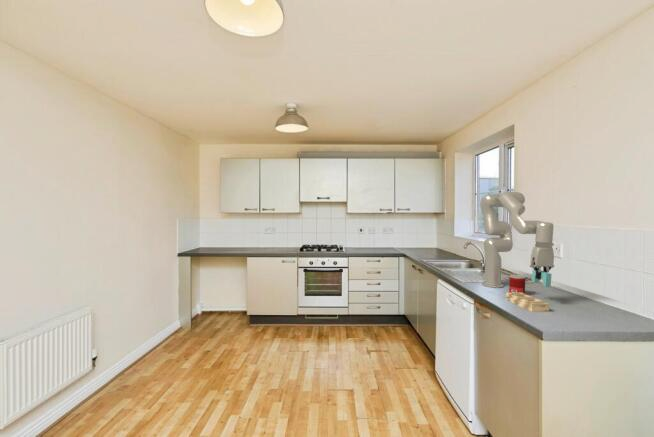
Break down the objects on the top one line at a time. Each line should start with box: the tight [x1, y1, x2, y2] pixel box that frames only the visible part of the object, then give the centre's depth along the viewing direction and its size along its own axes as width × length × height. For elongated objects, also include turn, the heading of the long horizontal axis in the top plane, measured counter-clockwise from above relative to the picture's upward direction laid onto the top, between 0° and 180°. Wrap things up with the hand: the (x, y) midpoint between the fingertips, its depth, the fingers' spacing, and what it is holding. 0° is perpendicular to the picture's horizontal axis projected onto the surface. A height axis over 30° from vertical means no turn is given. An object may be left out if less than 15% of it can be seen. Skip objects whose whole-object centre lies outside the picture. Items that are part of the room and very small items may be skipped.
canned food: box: [508, 274, 526, 294], centre depth 185 cm, size 8×8×11 cm
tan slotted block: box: [505, 292, 550, 313], centre depth 165 cm, size 20×9×4 cm, turn 4°
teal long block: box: [531, 268, 552, 288], centre depth 169 cm, size 10×3×7 cm, turn 4°
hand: (541, 278), depth 169 cm, fingers closed on teal long block, 2 cm apart
